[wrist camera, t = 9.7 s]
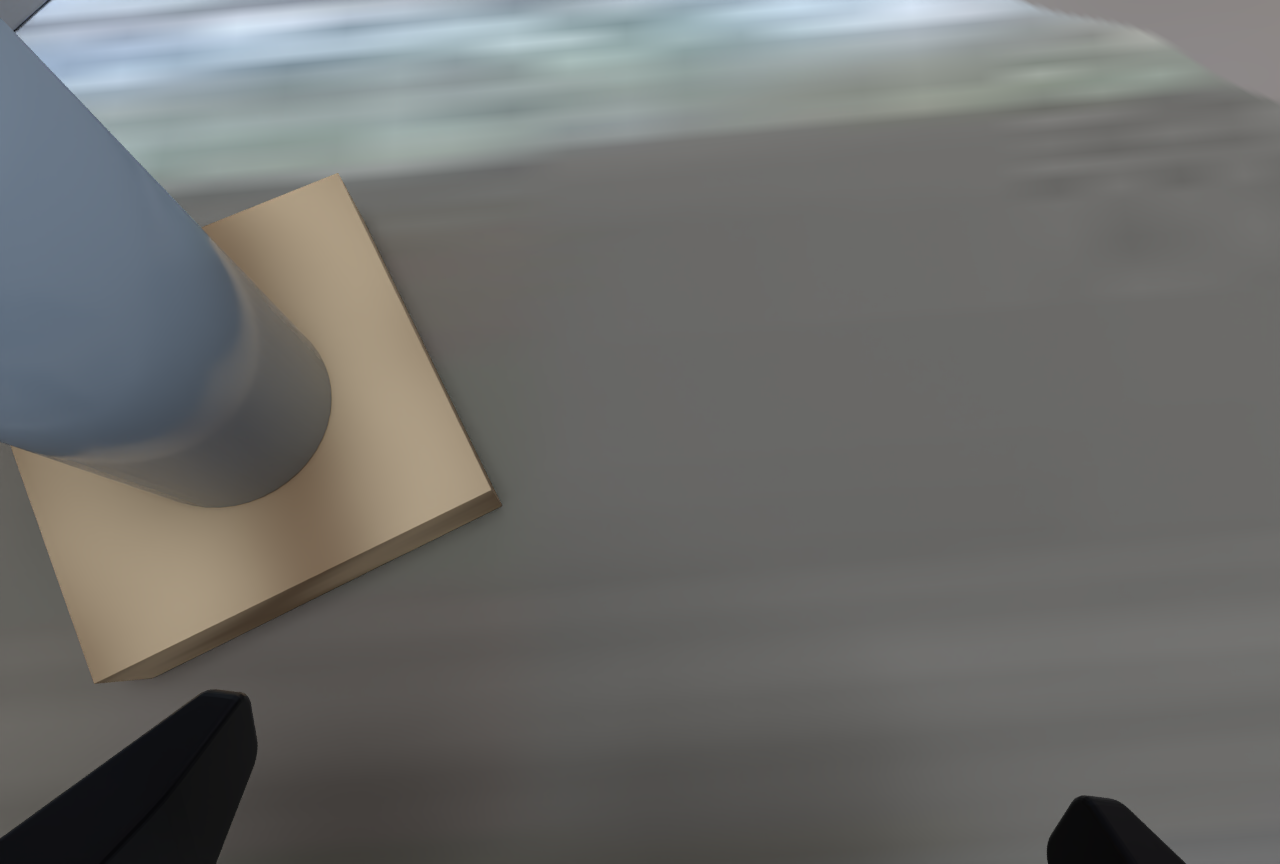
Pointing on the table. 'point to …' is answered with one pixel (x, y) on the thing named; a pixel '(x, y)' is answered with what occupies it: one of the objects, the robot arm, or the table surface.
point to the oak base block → (301, 508)
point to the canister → (134, 318)
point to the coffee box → (18, 11)
